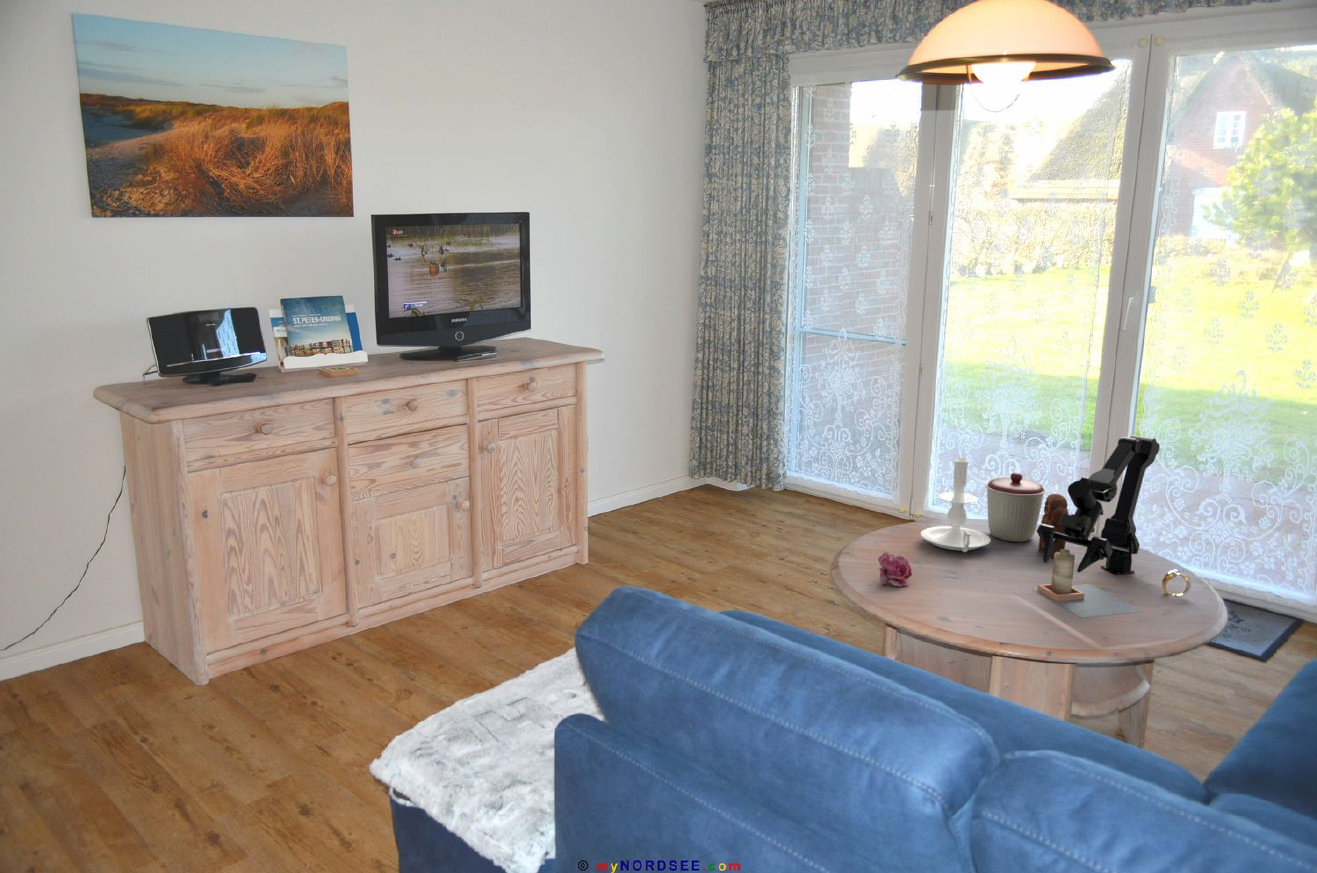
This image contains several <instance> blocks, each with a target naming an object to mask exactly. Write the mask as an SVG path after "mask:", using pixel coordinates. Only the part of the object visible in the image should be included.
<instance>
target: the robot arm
mask: <svg viewBox="0 0 1317 873" xmlns="http://www.w3.org/2000/svg"><path fill="white" fill-rule="evenodd" d="M1159 452H1160V443H1158V441H1157V439H1156V438H1153V437H1148V436H1141V435H1135V434H1132V435H1130V436H1129V437H1128V436H1127V437H1126V436H1122V437H1120V438H1119V440H1118V442H1117V446H1116V447H1115V448H1114V450H1113V451H1112V453H1111V454H1110V456H1109V457H1108V459H1107V460H1106V462H1105V464H1104V465H1103V466H1102V468H1101V469H1100V470H1098V471H1095V472H1094V473H1092V474H1091V475H1090V476H1089V477H1083V476H1082V477H1081V478H1080V479H1079V480H1075V481H1073V482H1072V483H1071V484H1069V485H1068V487H1067V494H1068V496H1069V497H1070V499H1071V501H1072V503H1073V505H1074V507H1075V508H1076V509H1075V513H1074V514H1073V513H1071V514H1069V513H1068V514H1064V513H1062V515H1061V518H1060V522H1059V525H1061V526H1063V528H1062V530H1063V531H1065V534H1063V533H1059V532H1057V530H1056V528H1055V527H1054V526H1050V525H1046V524H1039V525H1038V527H1037V528H1036V533H1037V535H1038V537H1039V539H1040V538H1041V540H1042V541H1043V542H1044V554H1043V559H1042V560H1043V564H1047V562H1048V561H1049V560H1050V558H1051V555H1052V553H1053V551H1054V550H1055V548H1056V545H1055V544H1056V543H1057V542H1058V540H1061V541H1065V542H1066V543H1068V544H1073V545H1077V546H1080V547H1081V546H1082V547H1085V548H1086V551H1085V553H1084V555H1083V557H1082V559H1081V561H1080V563H1079V564H1078V567H1077V569H1076V572H1077V573H1078V574H1079V573H1081V572H1082V571H1084V570H1085V569H1086V568H1088V567H1090V566H1091V565H1093V564H1094V563H1096V562H1098V561H1103V560H1105V559H1106V561H1105V564H1102V565H1100V568H1103V569H1104V570H1106V571H1108V572H1110V573H1112V574H1114V575H1122V574H1132V573H1133V574H1134V573H1135V570H1134V569H1132V564H1133V563H1132V562H1133V561H1132V560H1133V557H1132V556H1133V555H1138V552H1139V549H1140V546H1141V545H1140V542H1139V540H1138V538H1137V536H1136V534H1137V533H1136V532H1137V527H1136V525H1135V521H1134V519H1133V518H1134V515H1135V510H1136V506H1137V502H1138V499H1139V495H1140V491H1141V488H1142V484H1143V479H1144V477H1145V473H1146V469H1148V467H1150V465H1152V464H1153V463H1154V462H1155V460H1156V457H1157V455H1158V454H1159ZM1124 471H1125V473H1124V478H1123V481H1122V485H1121V488H1120V491H1119V496H1118V500H1117V503H1116V507H1115V510H1114V514H1113V515H1111V517H1107V518H1106V519H1105V521H1104V526H1103V528H1102V529H1101V532H1100V533H1101V534H1100V537H1098V536H1092V537H1091V539H1089V537H1090V535H1091V534H1092V533H1093V534H1094V533H1095V526H1096V523H1097V522H1098V519H1099V517H1100V516H1104V508H1103V505H1102V504H1101V502H1104V503H1110V502H1111V501H1112V500H1113V499H1115V497H1116V495H1117V491H1118V485H1117V483H1118V481H1119V478H1120V477H1121V476H1122V474H1123V472H1124Z"/></svg>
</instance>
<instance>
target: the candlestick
mask: <svg viewBox="0 0 1317 873" xmlns="http://www.w3.org/2000/svg"><path fill="white" fill-rule="evenodd" d="M968 461H969V460H968V458H965V457H960V458H958V459H954V468H953V478H952V479H953V482H952V483H953V486H952V491H953V492H951V491H949V492H943V493H939V495H938V498H940V499H942V500H944V501H946V502H949V503H951V507H950V508H949V509H948V511H947V514H946V516H947V521H948V522H949V524H950V525H952V526H950V525H948V526H946V525H945V526H943V525H941V526H932V527H928V528H924V529H923V530H921V531H920V536H921V538H923V539H924V540H926V541H928V542H929V543H930V544H932V545H934V546H936V547H938V548H942V549H946V550H950V551H959V552H960V551H962V552H963V553H967V552H968V551H973V550H976V549H979V548H981V547H984V546H987V545H989V544H990V543H991V541H992V540H991V538H990V536H988V535H987V534H985V533H984V532H981V531H978V530H976V529H975V530H974V529H972V528H968V527H967V528H966V527H962V525H964V523H965V522H966V520H967V518H968V516H967V512H966V509H965V507H964V505H965V504H968V503H975V502H977V501H979V498H978V497H977V496H975V495H973V494H969V493H965V487H966V486H967V475H968Z"/></svg>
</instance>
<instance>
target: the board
mask: <svg viewBox="0 0 1317 873" xmlns="http://www.w3.org/2000/svg"><path fill="white" fill-rule="evenodd" d="M1032 591H1034V592H1036V593H1038V594H1040V595H1041V596H1043V597H1044V598H1046V599H1048V600H1050V601H1052V602H1053V603H1055V604H1057V605H1058V606H1059V607H1062V608H1063V609H1065V610H1067V611H1069V612H1070V613H1072V614H1073V615H1075V616H1078V617H1079V618H1080V619H1083V618H1096V617H1103V616H1111V615H1112V616H1113V615H1114V616H1115V615H1123V614H1124V615H1125V614H1133V613H1142V612H1143V611H1142V610H1141V609H1138V608H1137V607H1135V606H1133V605H1132V604H1129V603H1127V602H1125V601H1123V600H1121V598H1120V599H1119V598H1117V597H1116V596H1114V595H1112V594H1109V593H1108V592H1106V591H1104V590H1103V589H1101V588H1099V587H1096V586H1095V585H1093V584H1091V583H1085V584H1076V585H1075V584H1074V585H1072V589H1071V594H1060V595H1058V594H1056V593H1054V592H1052V591H1051V583H1047V584H1046V583H1045V584H1038V585H1037V588H1033V589H1032Z"/></svg>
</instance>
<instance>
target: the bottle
mask: <svg viewBox="0 0 1317 873" xmlns="http://www.w3.org/2000/svg"><path fill="white" fill-rule="evenodd" d="M1075 560H1076V558H1075V554H1074V553H1071V550H1069V549H1066V548H1065V549H1061V550H1060V552H1056V553H1054V558H1053V563H1052V572H1051V573H1052V574H1051V583H1050V584H1051V591H1052V592H1054V593H1056V594H1058V595H1060V594H1071V589H1072V586H1073V580H1074V579H1073V577H1074V570H1075V569H1074V568H1075Z"/></svg>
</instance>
